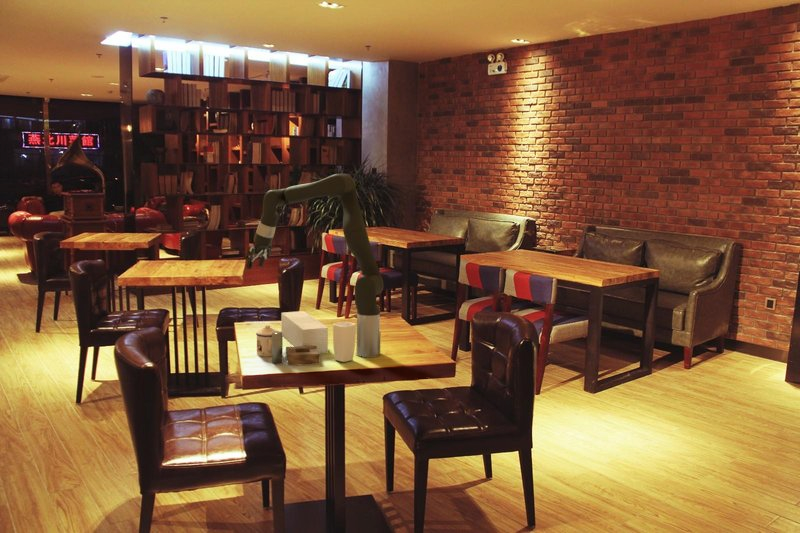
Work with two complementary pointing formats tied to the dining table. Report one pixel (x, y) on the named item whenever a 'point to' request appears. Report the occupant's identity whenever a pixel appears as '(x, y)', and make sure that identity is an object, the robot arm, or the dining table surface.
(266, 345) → the teacup with lid
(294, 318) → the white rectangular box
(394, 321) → the dining table surface
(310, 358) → the socket block
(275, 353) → the metal pin
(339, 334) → the cup
